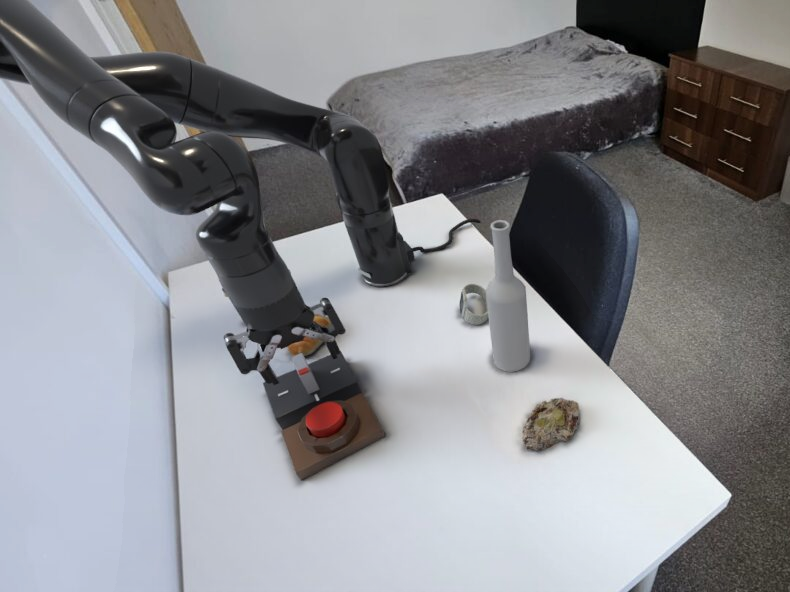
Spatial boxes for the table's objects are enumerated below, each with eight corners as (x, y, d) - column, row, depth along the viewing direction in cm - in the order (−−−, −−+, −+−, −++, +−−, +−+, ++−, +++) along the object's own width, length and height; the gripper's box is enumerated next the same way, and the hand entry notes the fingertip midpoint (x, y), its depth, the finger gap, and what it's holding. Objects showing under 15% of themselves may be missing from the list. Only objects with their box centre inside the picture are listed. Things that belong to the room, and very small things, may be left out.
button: (340, 404, 72) (336, 396, 70) (350, 426, 69) (346, 418, 68) (306, 420, 69) (301, 412, 68) (315, 443, 66) (311, 435, 65)
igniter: (365, 399, 77) (359, 384, 74) (385, 436, 72) (378, 420, 69) (285, 438, 71) (275, 423, 68) (300, 480, 66) (290, 465, 63)
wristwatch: (458, 298, 97) (455, 279, 93) (489, 294, 98) (487, 275, 95) (462, 328, 90) (459, 309, 87) (495, 323, 92) (493, 304, 88)
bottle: (518, 339, 88) (509, 208, 70) (537, 361, 84) (531, 228, 66) (487, 354, 85) (468, 220, 67) (504, 377, 81) (489, 242, 63)
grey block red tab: (300, 374, 76) (290, 355, 73) (311, 370, 77) (301, 351, 74) (308, 394, 73) (298, 376, 71) (319, 389, 74) (310, 371, 71)
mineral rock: (552, 382, 78) (587, 401, 73) (558, 401, 80) (592, 420, 75) (503, 424, 72) (538, 447, 67) (511, 443, 74) (545, 467, 69)
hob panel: (345, 360, 83) (339, 348, 81) (362, 394, 78) (357, 382, 75) (269, 393, 77) (261, 380, 75) (283, 432, 72) (275, 419, 70)
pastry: (321, 358, 83) (314, 343, 81) (281, 361, 82) (272, 346, 80) (335, 322, 90) (329, 307, 88) (298, 324, 89) (291, 309, 87)
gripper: (203, 326, 57) (260, 406, 67) (326, 281, 64) (360, 361, 74) (194, 294, 61) (249, 374, 72) (310, 256, 68) (344, 334, 79)
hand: (305, 367), depth 73 cm, fingers open, 8 cm apart
